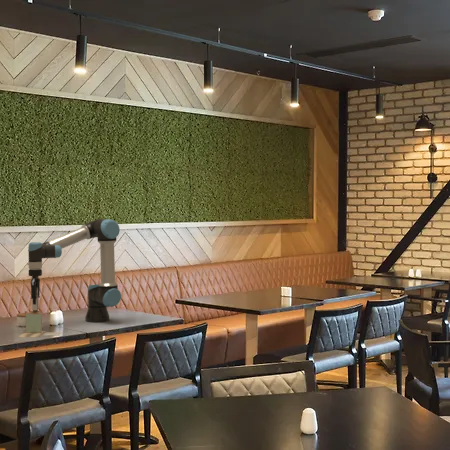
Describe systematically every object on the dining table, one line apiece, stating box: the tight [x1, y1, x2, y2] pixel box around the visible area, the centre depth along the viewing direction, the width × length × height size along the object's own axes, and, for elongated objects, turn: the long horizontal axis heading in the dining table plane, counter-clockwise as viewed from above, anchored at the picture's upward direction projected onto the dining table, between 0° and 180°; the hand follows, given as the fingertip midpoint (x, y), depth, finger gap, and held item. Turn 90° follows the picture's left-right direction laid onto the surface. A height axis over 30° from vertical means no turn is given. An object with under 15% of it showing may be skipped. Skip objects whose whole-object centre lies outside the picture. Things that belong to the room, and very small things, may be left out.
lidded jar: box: [16, 311, 28, 328], centre depth 441 cm, size 11×11×9 cm
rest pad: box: [42, 331, 62, 337], centre depth 414 cm, size 9×9×1 cm
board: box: [17, 330, 47, 338], centre depth 414 cm, size 12×18×1 cm, turn 2°
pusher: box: [28, 288, 43, 314], centre depth 422 cm, size 6×6×16 cm
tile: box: [25, 312, 43, 333], centre depth 418 cm, size 9×2×11 cm, turn 92°
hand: (35, 309), depth 423 cm, fingers closed on pusher, 3 cm apart
